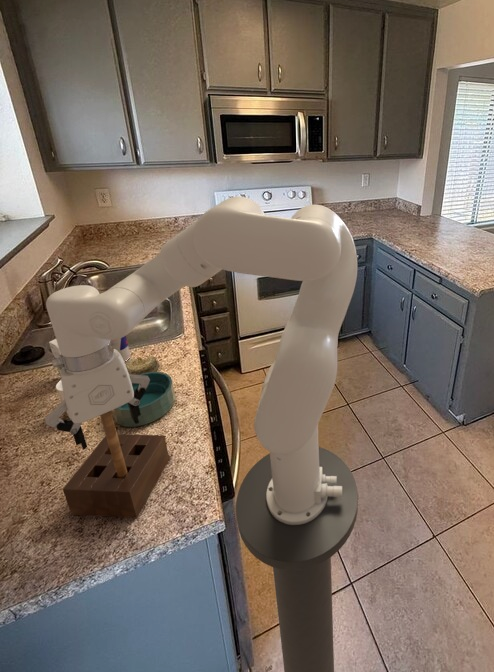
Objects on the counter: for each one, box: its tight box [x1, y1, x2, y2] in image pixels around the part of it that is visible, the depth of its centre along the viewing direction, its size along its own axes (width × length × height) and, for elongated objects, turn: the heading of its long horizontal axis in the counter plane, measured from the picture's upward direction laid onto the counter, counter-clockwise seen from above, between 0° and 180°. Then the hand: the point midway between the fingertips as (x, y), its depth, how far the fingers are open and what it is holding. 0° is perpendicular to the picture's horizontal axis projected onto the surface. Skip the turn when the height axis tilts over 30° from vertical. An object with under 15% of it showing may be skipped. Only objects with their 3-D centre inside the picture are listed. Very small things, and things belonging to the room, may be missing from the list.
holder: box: [62, 433, 170, 519], centre depth 76 cm, size 14×14×7 cm
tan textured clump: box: [125, 354, 160, 375], centre depth 114 cm, size 10×10×5 cm
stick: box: [99, 410, 128, 478], centre depth 71 cm, size 2×2×22 cm
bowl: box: [111, 371, 176, 428], centre depth 98 cm, size 15×15×6 cm
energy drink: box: [111, 335, 132, 364], centre depth 119 cm, size 5×5×12 cm
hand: (110, 431), depth 69 cm, fingers open, 8 cm apart
